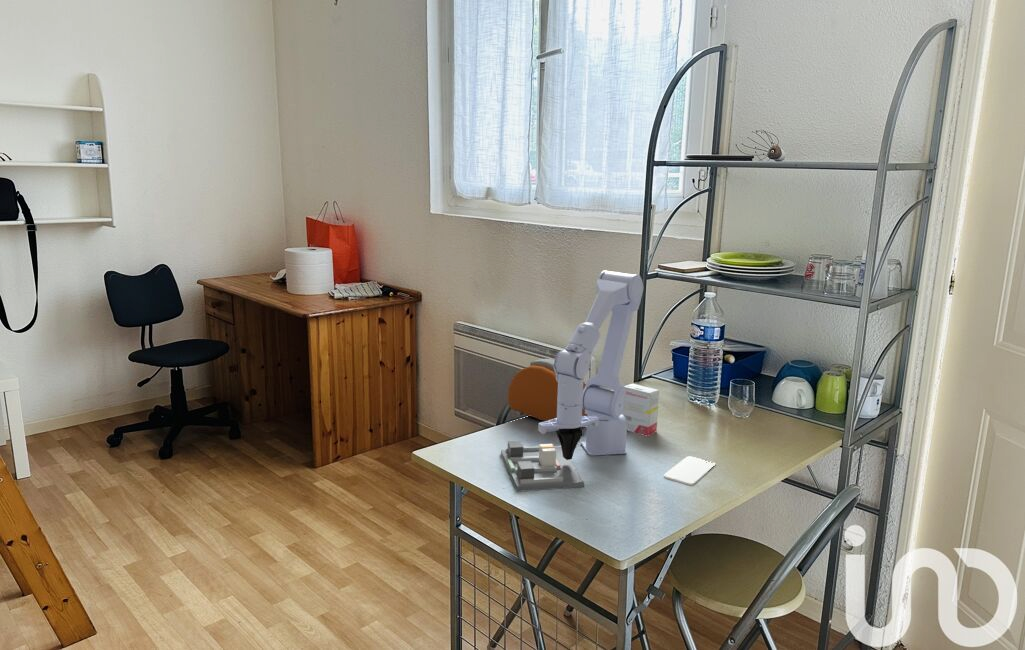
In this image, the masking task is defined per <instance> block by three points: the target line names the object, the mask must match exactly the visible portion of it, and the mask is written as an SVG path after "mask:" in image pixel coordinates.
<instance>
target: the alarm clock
mask: <svg viewBox="0 0 1025 650" xmlns="http://www.w3.org/2000/svg"><path fill="white" fill-rule="evenodd" d="M554 361H555V359H553V358H540V359H537V360H533V361H530V364H529V365H530V366H529V365H528V366H526V367H524V368H522V369H520V370H519V371H517V372H516V373H515V374H514V376H513V377H512V379H511V380H510V384H509V386H508V389H507V390H508V391H507V400H508V406H509V407H510V409H511V410H513V411H516V415H517V416H523V415H526V416H529V417H532V418H535V419H538V420H540V421H542V422H545V421H549V420H552V419H555V418H557V397H558V382H557V381H556V373H555V371H554V368H553V364H554ZM585 386H586V383H585V381H583V390H584V388H585ZM582 416H587V414H585V410H584V409H583V408H582Z"/></svg>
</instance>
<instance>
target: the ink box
mask: <svg viewBox="0 0 1025 650" xmlns="http://www.w3.org/2000/svg"><path fill="white" fill-rule="evenodd" d="M624 386H625V388H626V396H625V401H626V403H625V408H624V411H623V413H622V414H623V415H624V417H625V419H626V424H627V430H628V431H627V432H631V431H632V432H631V433H634V432H635V433H634V434H638V433H639V435H642V434H643V435H642V436H646V435H647V436H646V437H650V436H651V435H653V434H654V432H655V431H656V432H657V428H658V415H659V414H658V412H659V400H660V399H659V398H660V390H659V389H657V388H652V387H647V386H644V385H640V384H635V383H629V384H627V385H624ZM656 432H655V433H656ZM652 433H653V434H652ZM649 435H650V436H649Z"/></svg>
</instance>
